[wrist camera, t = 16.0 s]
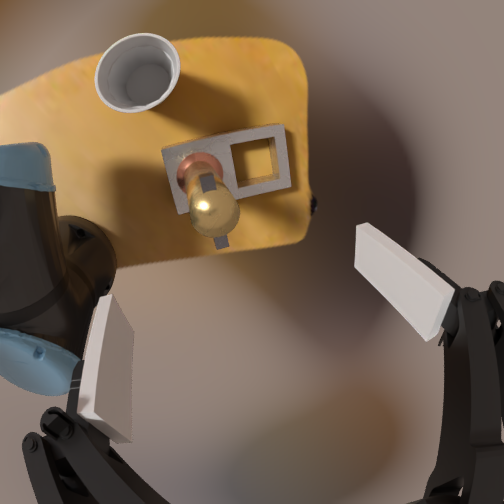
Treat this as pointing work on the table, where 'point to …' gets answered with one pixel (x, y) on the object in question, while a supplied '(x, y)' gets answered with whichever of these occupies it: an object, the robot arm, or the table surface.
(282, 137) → the plate with copper dome
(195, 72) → the table surface
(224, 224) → the brass cylinder with tabs
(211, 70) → the table surface
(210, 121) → the table surface
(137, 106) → the cup
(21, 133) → the table surface
